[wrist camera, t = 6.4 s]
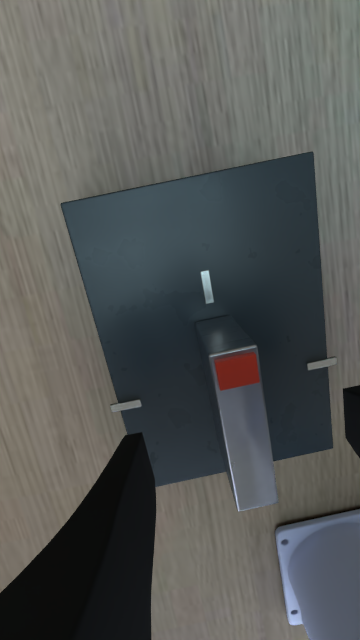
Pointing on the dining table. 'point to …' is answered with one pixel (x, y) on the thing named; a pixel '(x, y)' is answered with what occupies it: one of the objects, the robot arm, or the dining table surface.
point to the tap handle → (238, 410)
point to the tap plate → (208, 304)
